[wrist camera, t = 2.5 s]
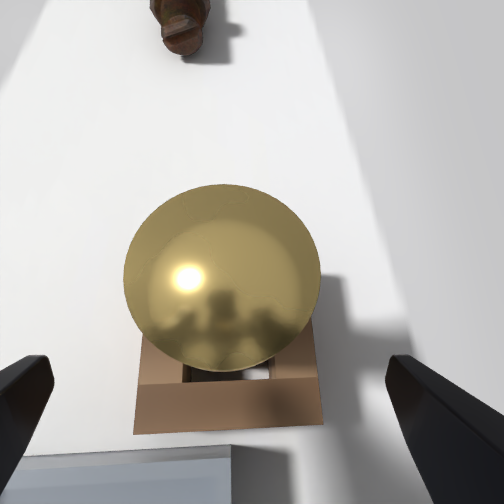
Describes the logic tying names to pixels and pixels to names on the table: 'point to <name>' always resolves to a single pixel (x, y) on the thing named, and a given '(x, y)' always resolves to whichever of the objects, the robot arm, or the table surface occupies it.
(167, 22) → the bolt
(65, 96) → the table surface
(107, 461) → the tray
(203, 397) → the block
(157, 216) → the pin
